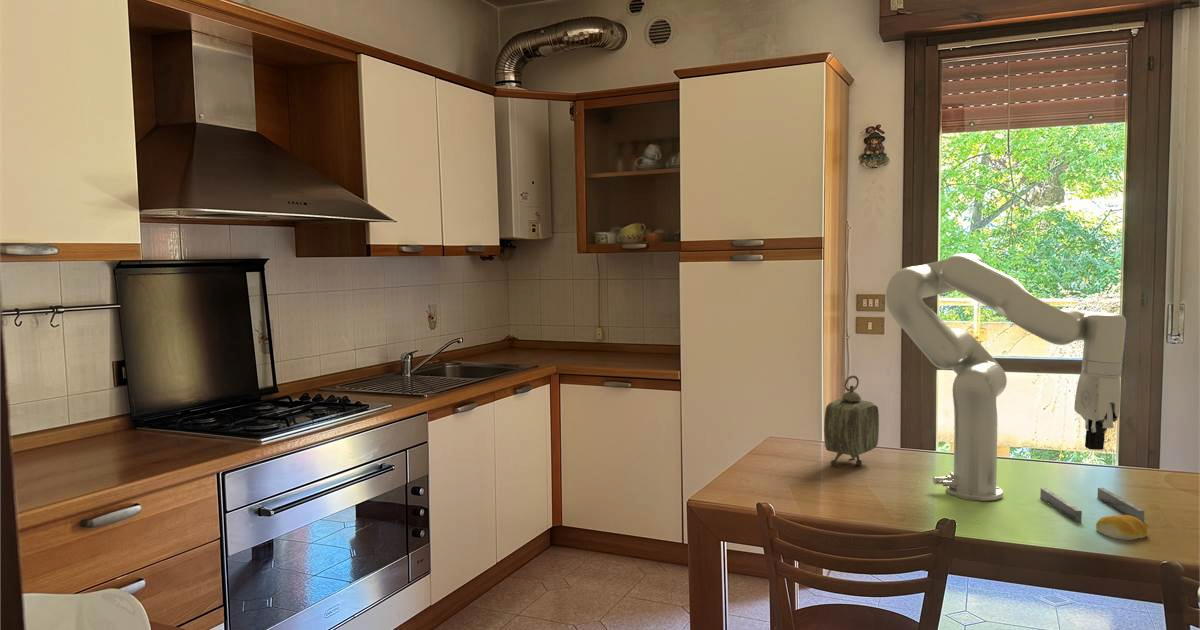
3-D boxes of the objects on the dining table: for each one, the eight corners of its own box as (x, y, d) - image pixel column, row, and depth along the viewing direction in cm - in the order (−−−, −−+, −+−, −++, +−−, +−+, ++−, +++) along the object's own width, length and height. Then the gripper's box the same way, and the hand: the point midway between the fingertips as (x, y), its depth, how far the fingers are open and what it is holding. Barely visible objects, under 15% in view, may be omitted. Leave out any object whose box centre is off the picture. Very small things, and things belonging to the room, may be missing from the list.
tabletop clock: (851, 456, 232) (851, 370, 230) (880, 461, 225) (881, 374, 223) (824, 466, 222) (824, 377, 220) (853, 473, 216) (854, 381, 213)
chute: (1075, 521, 176) (1076, 510, 176) (1040, 498, 192) (1040, 488, 191) (1143, 521, 175) (1144, 510, 175) (1102, 498, 191) (1103, 487, 191)
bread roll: (1155, 537, 167) (1156, 518, 166) (1125, 544, 164) (1125, 525, 163) (1117, 524, 175) (1117, 506, 174) (1087, 530, 171) (1088, 512, 171)
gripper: (1066, 361, 185) (1059, 438, 187) (1102, 374, 170) (1095, 458, 172) (1100, 362, 184) (1092, 439, 187) (1139, 375, 170) (1131, 459, 172)
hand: (1094, 448), depth 180 cm, fingers closed
